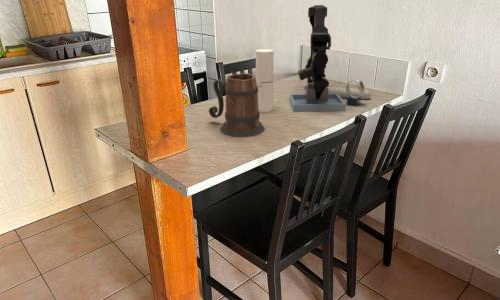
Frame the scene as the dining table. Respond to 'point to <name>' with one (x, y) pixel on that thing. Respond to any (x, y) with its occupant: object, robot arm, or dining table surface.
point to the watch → (355, 99)
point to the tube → (354, 92)
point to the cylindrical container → (264, 79)
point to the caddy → (311, 95)
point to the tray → (316, 103)
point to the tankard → (238, 106)
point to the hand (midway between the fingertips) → (316, 97)
